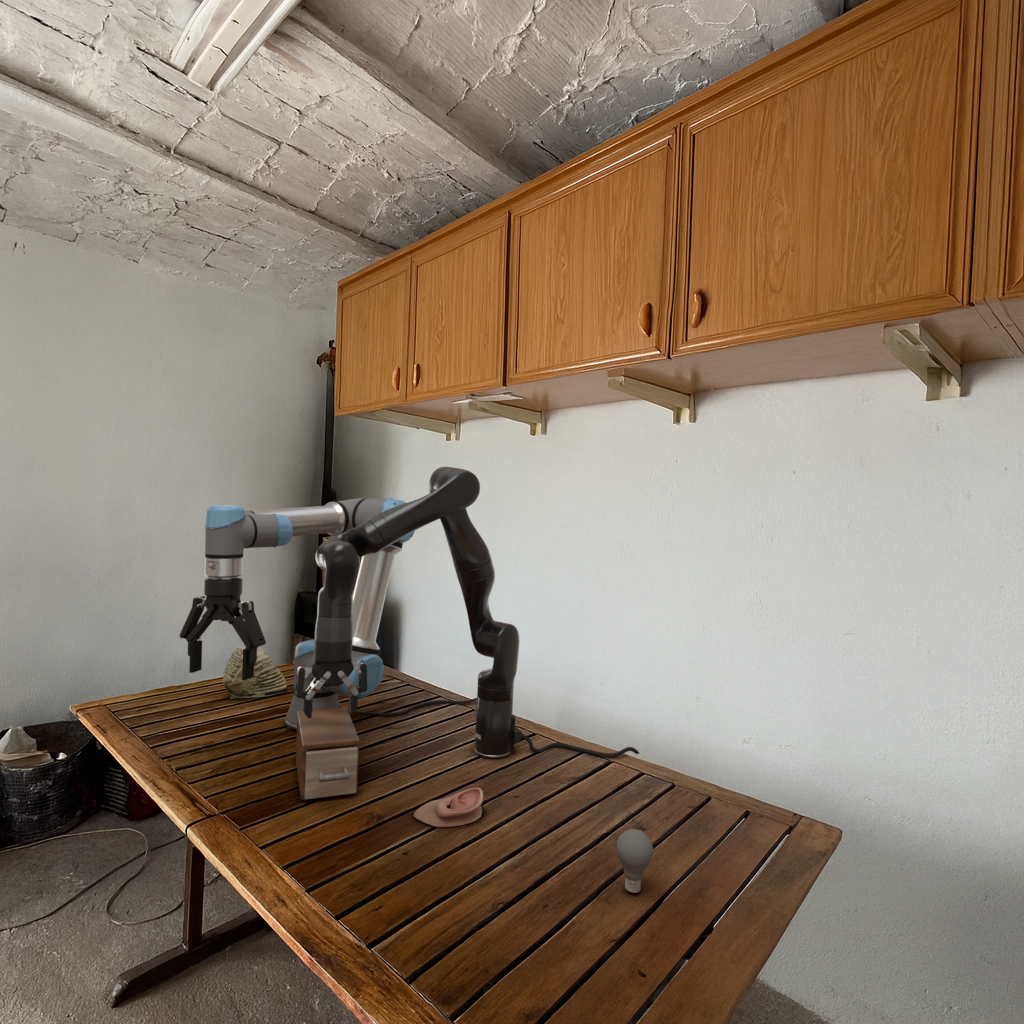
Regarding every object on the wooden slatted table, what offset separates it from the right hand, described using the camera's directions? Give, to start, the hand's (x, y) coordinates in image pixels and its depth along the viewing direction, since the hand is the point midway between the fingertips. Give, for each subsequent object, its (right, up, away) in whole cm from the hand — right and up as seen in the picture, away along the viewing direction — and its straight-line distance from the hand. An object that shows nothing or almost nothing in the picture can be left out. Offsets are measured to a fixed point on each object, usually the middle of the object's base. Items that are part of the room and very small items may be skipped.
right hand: (330, 714), depth 131 cm
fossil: (-43, -15, +67) cm, 81 cm away
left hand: (-25, +7, +6) cm, 27 cm away
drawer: (-3, -17, +8) cm, 19 cm away
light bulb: (+58, -21, -25) cm, 67 cm away
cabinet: (-5, -18, +13) cm, 23 cm away
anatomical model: (+25, -20, -2) cm, 32 cm away
